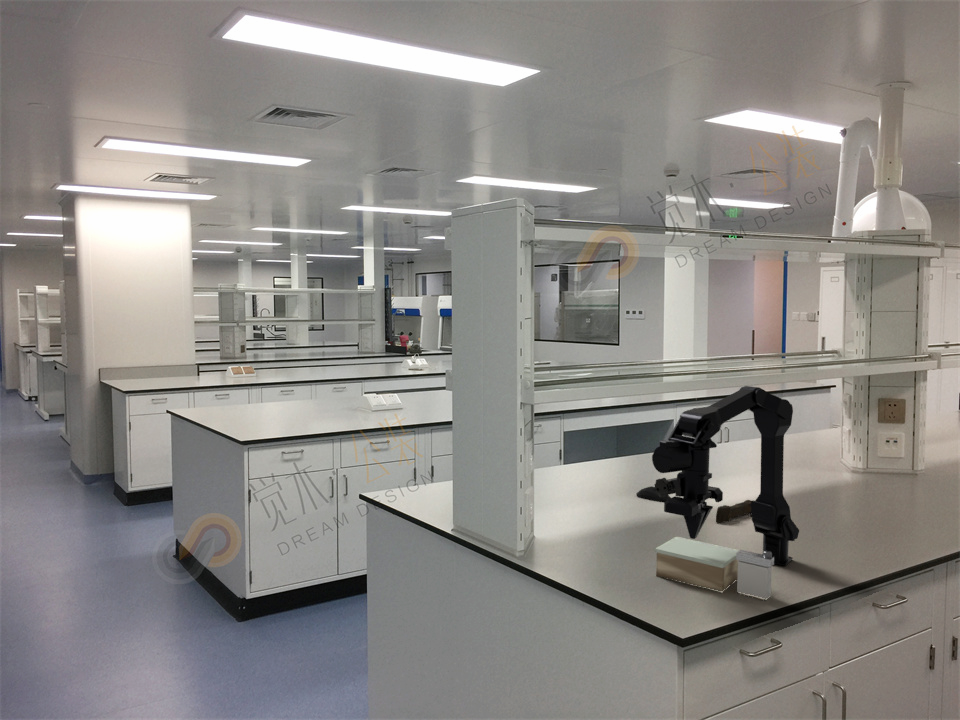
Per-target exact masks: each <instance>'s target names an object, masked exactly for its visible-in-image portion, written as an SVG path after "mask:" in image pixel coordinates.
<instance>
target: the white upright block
mask: <svg viewBox="0 0 960 720" xmlns="http://www.w3.org/2000/svg"><path fill="white" fill-rule="evenodd" d="M772 567H773V566H772ZM772 567H771V568H769V567H765V566H761V565H756V564H752V563H748V562H743V561H738V579H737V581H736V583H737V584H736V585H737V587H736V588H737V589H736V593H737V592H741V593H745V594H750V595H754V596H758V597H762V598H765V599H766V598H768V597H769V596H770V595H772V593H771V592H772V570H773V569H772Z"/></svg>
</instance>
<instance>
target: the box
mask: <svg viewBox="0 0 960 720" xmlns="http://www.w3.org/2000/svg"><path fill="white" fill-rule="evenodd" d="M738 561H739V560H736V559H735V560H733V561H732V562H731V563H729V564H728V565H727V566H725V567H724V568H720V567H716V566H711V565H707V564H703V563H699V562H695V561H691V560H686V559H682V558H678V557H674V556H670V555H665V554H661V553H657V552H656V565H655V566H656V568H655V569H656V570H655V572H656V573H655V575H656V577H658V576H660V577H659V578H662V577H664V578H663V579H666V578H668V579H667V580H670V579H673V580H677V581H681V582H685V583H689V584H693V585H697V586H701V587H706V588H710V589H714V590H718V591H723V590H724V589H726V588H727V587H728V586H729V585H731V584H732V583H733V582H734V581H735V580H737V579H738ZM673 580H672V581H673ZM677 581H676V582H677ZM681 582H680V583H681ZM685 583H684V584H685ZM689 584H688V585H689ZM732 585H733V584H732ZM732 585H731V586H732ZM726 590H727V589H726Z"/></svg>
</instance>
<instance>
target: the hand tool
mask: <svg viewBox="0 0 960 720" xmlns="http://www.w3.org/2000/svg"><path fill="white" fill-rule="evenodd" d="M752 501H753V500H751V499H745V500H744V501H743V502H739V503H735V504H733V505H726V504H723V505H721V506H718V507H717V509H716V514H715V523H716V524H718V523H719V524H721V523H727V522H731V520H732V519H734V518H737V517H740V516H741V517H742V516H744V515H747V514H751V502H752Z"/></svg>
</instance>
